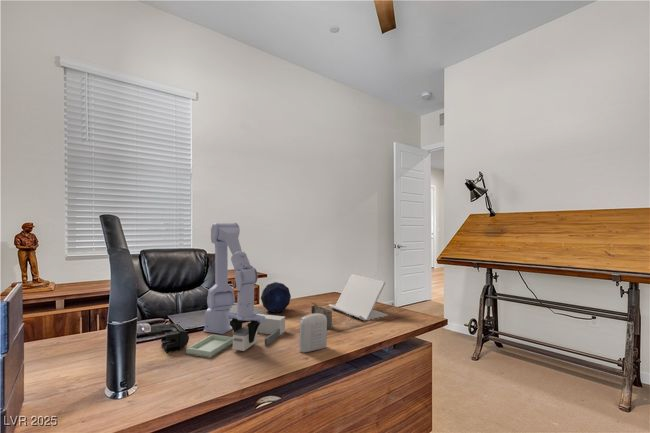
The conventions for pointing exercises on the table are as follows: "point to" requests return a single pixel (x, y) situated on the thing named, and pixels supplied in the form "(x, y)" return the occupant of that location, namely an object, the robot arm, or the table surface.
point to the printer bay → (272, 327)
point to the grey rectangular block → (242, 339)
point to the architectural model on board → (323, 311)
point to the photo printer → (312, 332)
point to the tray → (209, 346)
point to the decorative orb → (275, 297)
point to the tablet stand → (360, 298)
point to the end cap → (174, 338)
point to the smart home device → (158, 329)
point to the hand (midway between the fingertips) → (245, 341)
